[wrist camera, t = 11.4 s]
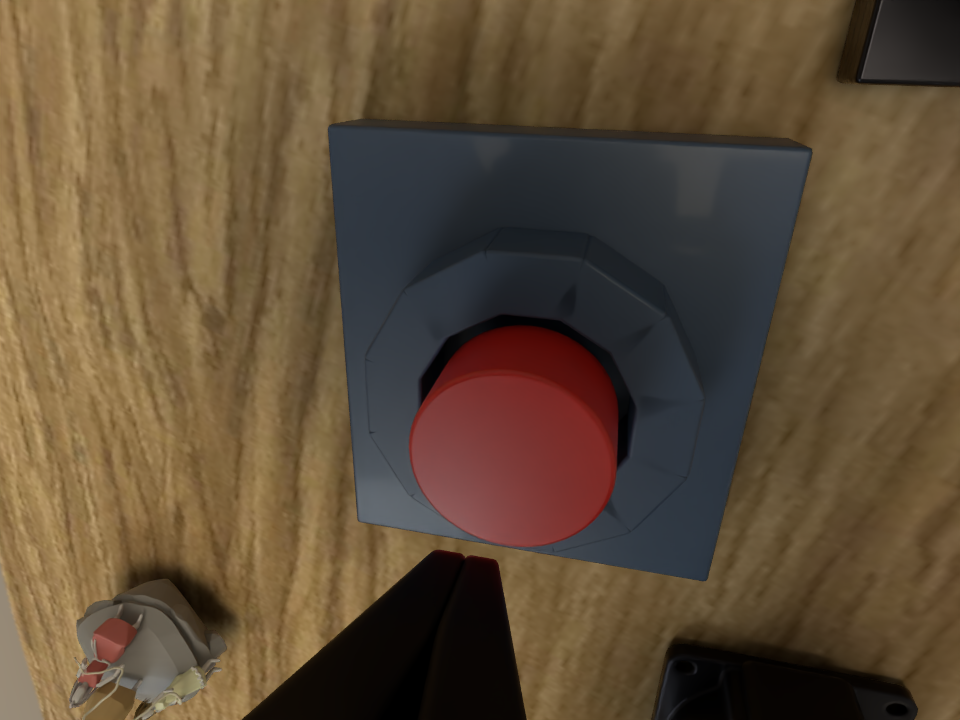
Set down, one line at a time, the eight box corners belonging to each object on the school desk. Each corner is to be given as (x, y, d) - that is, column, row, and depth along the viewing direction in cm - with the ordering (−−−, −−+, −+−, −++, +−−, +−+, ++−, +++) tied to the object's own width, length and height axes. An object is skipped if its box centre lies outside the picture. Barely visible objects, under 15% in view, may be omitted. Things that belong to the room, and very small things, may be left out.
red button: (607, 494, 13) (603, 564, 11) (439, 469, 13) (409, 531, 12) (630, 334, 11) (630, 385, 9) (438, 313, 12) (403, 358, 10)
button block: (700, 536, 16) (716, 645, 13) (379, 485, 18) (327, 571, 15) (792, 138, 12) (848, 161, 9) (358, 118, 14) (280, 132, 11)
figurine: (123, 630, 24) (-22, 791, 19) (107, 544, 22) (-61, 697, 17) (248, 668, 23) (135, 846, 18) (243, 582, 21) (114, 755, 16)
